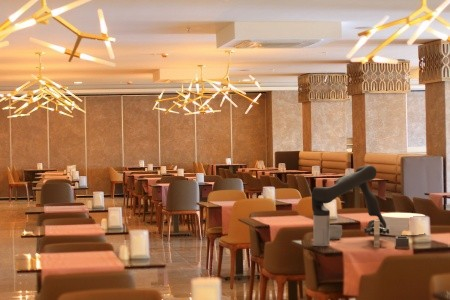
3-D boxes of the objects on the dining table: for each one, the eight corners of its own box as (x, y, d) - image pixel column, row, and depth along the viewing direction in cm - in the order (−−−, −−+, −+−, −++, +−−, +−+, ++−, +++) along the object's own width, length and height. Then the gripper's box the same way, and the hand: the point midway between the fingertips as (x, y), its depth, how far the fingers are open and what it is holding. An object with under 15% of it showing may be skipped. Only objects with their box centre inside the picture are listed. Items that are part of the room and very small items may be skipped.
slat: (379, 247, 508) (379, 220, 508) (373, 247, 509) (374, 220, 508) (379, 246, 513) (379, 219, 513) (374, 246, 514) (374, 219, 513)
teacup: (337, 240, 536) (337, 227, 536) (320, 239, 542) (320, 225, 542) (347, 237, 548) (347, 224, 548) (330, 236, 554) (330, 223, 554)
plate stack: (422, 230, 583) (422, 212, 583) (427, 236, 555) (427, 217, 555) (378, 230, 586) (378, 212, 586) (381, 236, 558) (381, 217, 558)
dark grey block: (409, 248, 503) (409, 238, 503) (395, 248, 504) (395, 238, 504) (409, 246, 513) (409, 236, 513) (394, 245, 514) (394, 236, 514)
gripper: (364, 221, 526) (363, 225, 510) (389, 222, 523) (389, 225, 507) (364, 234, 526) (363, 238, 510) (389, 235, 524) (389, 239, 508)
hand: (376, 232), depth 509 cm, fingers open, 7 cm apart
